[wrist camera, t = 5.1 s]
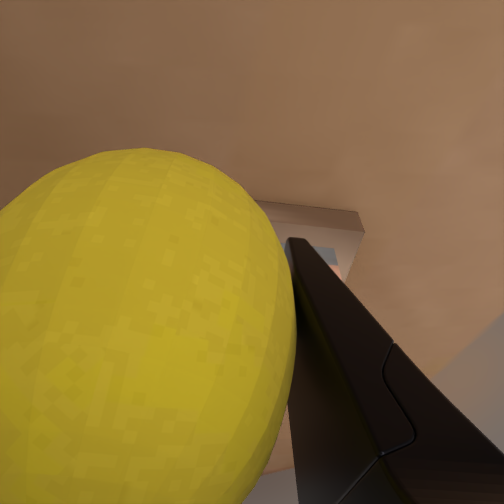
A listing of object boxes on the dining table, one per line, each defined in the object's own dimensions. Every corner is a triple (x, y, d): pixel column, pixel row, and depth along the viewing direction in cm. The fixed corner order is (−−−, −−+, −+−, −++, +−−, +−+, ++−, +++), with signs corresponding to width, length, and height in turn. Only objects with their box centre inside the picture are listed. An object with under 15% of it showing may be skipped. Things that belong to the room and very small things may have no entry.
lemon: (319, 140, 8) (480, 636, 2) (243, 293, 12) (228, 660, 6) (74, 49, 7) (-870, 557, 1) (67, 247, 11) (-190, 647, 5)
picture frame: (312, 333, 29) (319, 387, 26) (164, 320, 29) (150, 373, 25) (357, 212, 22) (377, 264, 18) (157, 189, 21) (136, 238, 17)
